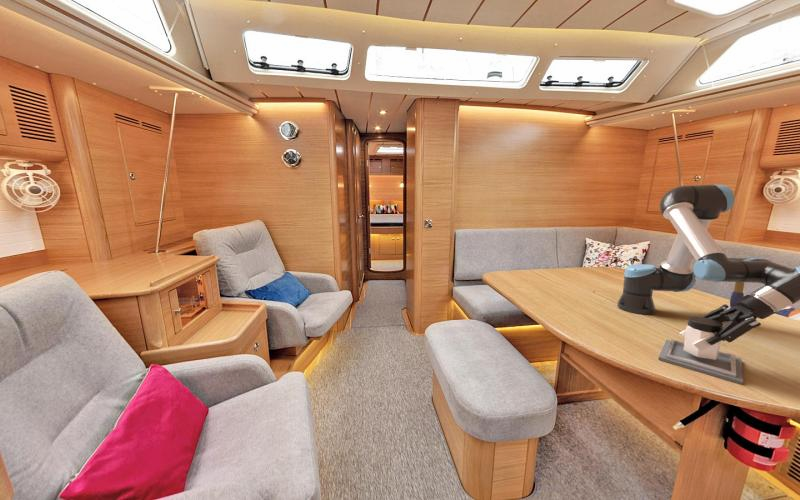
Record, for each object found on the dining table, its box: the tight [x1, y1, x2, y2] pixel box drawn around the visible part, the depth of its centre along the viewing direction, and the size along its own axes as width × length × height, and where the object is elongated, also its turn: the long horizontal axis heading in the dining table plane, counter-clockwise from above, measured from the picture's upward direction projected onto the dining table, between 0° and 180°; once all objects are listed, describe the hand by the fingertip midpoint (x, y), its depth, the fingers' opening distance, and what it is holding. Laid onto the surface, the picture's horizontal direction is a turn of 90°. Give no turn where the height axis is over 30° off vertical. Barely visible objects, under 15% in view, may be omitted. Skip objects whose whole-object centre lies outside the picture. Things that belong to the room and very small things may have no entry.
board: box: [658, 339, 744, 385], centre depth 98 cm, size 19×19×1 cm
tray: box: [665, 339, 736, 377], centre depth 97 cm, size 16×16×1 cm
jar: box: [683, 316, 724, 360], centre depth 96 cm, size 9×8×12 cm
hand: (689, 341), depth 98 cm, fingers closed on jar, 8 cm apart
